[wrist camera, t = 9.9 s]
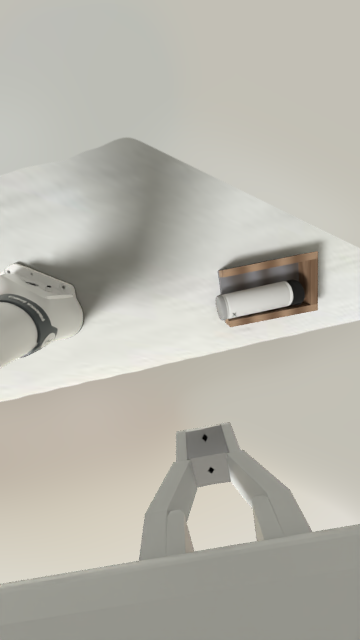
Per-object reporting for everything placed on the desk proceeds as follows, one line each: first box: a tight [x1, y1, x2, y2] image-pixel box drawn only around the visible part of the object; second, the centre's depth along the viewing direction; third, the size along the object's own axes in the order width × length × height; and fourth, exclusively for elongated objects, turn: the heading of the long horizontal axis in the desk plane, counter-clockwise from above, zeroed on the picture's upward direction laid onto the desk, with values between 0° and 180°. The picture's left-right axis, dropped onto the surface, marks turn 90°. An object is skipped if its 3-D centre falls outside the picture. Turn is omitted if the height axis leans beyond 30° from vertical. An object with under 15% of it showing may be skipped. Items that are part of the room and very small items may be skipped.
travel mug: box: [216, 279, 305, 320], centre depth 43 cm, size 6×7×20 cm
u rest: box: [218, 251, 318, 327], centre depth 44 cm, size 22×14×5 cm, turn 101°
